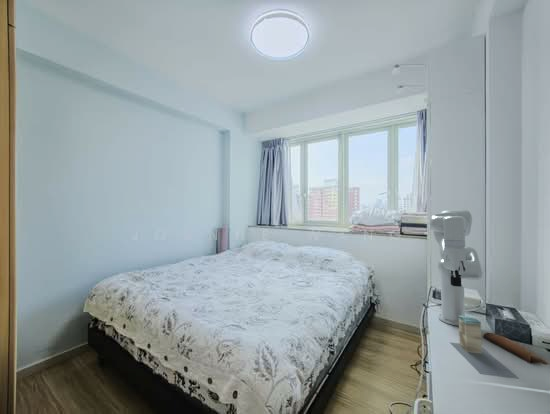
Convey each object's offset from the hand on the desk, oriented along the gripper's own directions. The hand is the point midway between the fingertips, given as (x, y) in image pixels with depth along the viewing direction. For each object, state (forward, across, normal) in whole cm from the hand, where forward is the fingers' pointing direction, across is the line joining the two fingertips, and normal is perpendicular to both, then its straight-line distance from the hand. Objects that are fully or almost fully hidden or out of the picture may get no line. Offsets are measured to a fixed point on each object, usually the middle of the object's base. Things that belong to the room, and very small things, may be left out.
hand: (456, 285), depth 101 cm
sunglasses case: (+24, +5, +17) cm, 30 cm away
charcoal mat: (+23, +15, 0) cm, 28 cm away
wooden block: (+23, +9, 0) cm, 24 cm away
